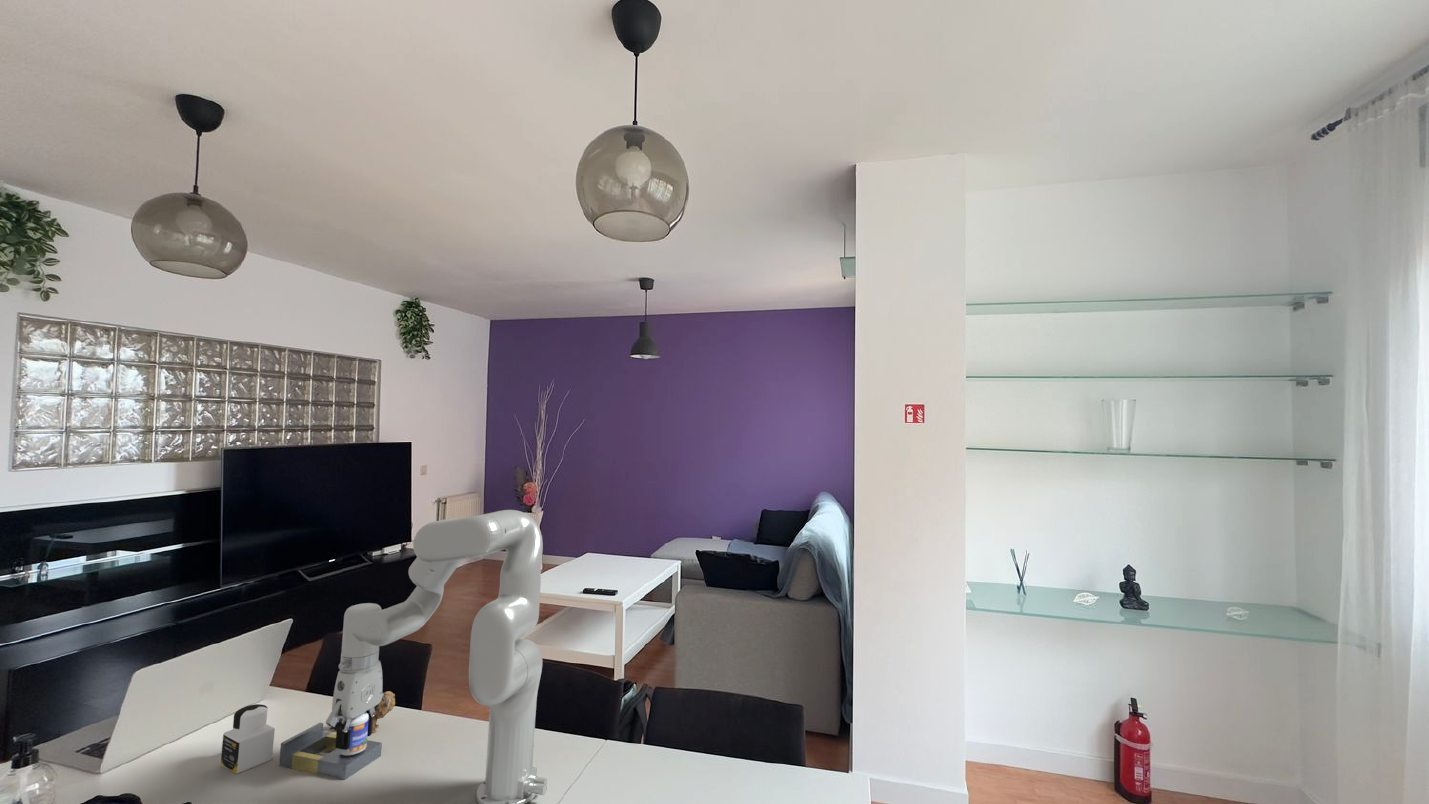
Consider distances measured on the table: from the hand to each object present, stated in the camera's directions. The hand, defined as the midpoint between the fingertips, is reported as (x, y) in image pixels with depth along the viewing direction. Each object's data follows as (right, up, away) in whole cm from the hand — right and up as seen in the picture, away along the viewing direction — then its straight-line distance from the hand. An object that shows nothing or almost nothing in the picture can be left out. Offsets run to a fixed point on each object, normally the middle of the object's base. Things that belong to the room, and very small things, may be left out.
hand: (353, 740), depth 133 cm
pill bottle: (0, -2, 0) cm, 2 cm away
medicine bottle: (-24, -5, -1) cm, 24 cm away
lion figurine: (-7, -6, +16) cm, 18 cm away
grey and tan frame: (-6, -5, +1) cm, 8 cm away
